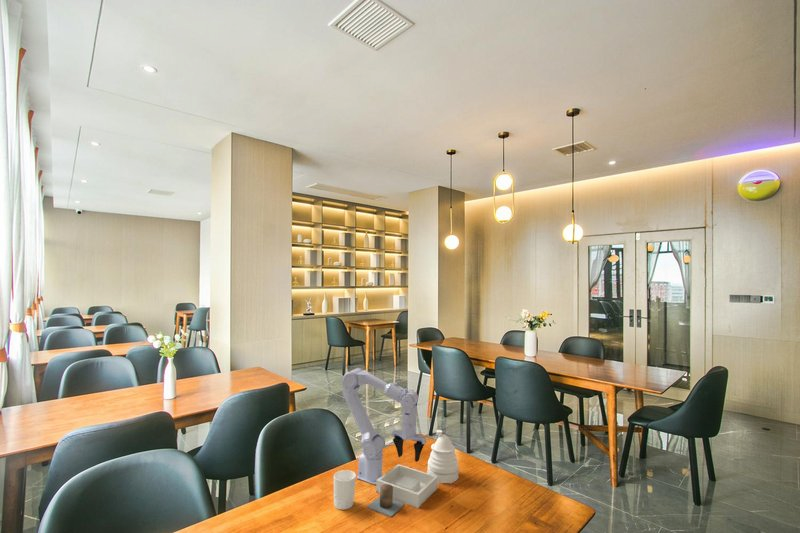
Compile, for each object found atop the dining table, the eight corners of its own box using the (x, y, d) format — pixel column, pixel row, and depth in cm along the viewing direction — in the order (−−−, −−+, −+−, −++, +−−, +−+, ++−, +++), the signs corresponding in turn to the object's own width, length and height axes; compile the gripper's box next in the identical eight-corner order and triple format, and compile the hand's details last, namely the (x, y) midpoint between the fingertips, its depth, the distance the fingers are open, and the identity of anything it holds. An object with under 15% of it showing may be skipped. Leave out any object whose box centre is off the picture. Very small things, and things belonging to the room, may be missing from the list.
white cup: (358, 501, 135) (359, 472, 136) (348, 513, 128) (349, 482, 129) (338, 496, 138) (340, 468, 139) (328, 507, 131) (329, 478, 131)
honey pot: (424, 481, 151) (426, 435, 153) (429, 466, 164) (431, 424, 165) (457, 486, 148) (458, 439, 150) (459, 471, 161) (460, 428, 162)
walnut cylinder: (377, 505, 132) (377, 488, 133) (384, 500, 136) (384, 482, 136) (387, 510, 130) (388, 492, 130) (394, 504, 134) (395, 486, 134)
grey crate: (376, 492, 142) (376, 480, 142) (398, 475, 155) (398, 464, 156) (418, 508, 132) (418, 494, 133) (437, 488, 146) (437, 476, 146)
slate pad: (366, 507, 131) (366, 506, 131) (381, 496, 139) (381, 495, 139) (391, 517, 126) (391, 516, 126) (404, 504, 134) (404, 503, 134)
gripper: (388, 422, 149) (387, 457, 148) (420, 429, 142) (420, 466, 141) (397, 417, 155) (397, 451, 154) (429, 424, 148) (428, 459, 147)
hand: (408, 458), depth 148 cm, fingers open, 7 cm apart
